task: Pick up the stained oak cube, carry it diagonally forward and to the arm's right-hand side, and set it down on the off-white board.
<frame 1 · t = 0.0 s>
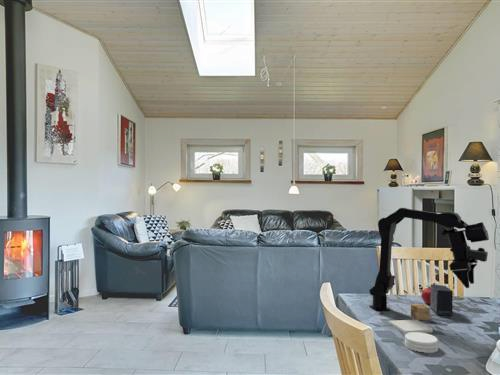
hand: (470, 285, 141), 15 cm above the table, tool pointing down, fingers open, 9 cm apart
white board: (410, 327, 139), on the table
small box: (441, 312, 159), on the table
oak cube: (420, 318, 151), on the table
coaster: (421, 348, 121), on the table
pomegranate: (433, 304, 172), on the table
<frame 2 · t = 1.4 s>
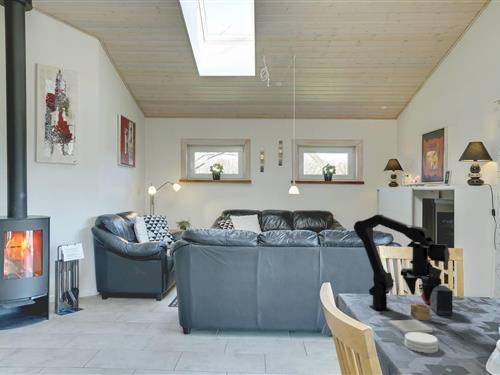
hand: (419, 297, 151), 8 cm above the table, tool pointing down, fingers open, 9 cm apart
nothing on the table moved.
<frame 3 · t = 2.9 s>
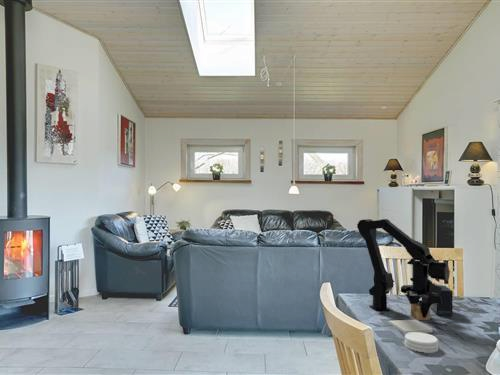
hand: (420, 315, 151), 1 cm above the table, tool pointing down, fingers closed on oak cube, 5 cm apart
oak cube: (420, 317, 151), on the table, touching gripper
everything else where it was.
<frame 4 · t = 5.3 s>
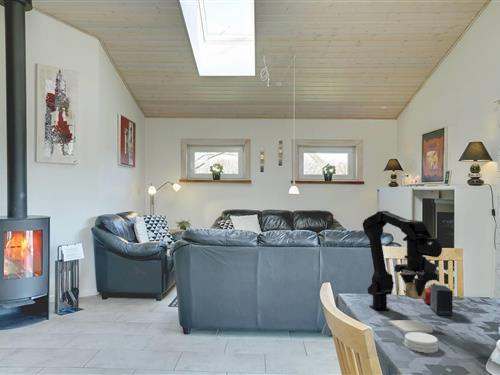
hand: (415, 294, 144), 11 cm above the table, tool pointing down, fingers closed on oak cube, 5 cm apart
oak cube: (415, 297, 144), point 10 cm above the table, touching gripper
everything else where it was.
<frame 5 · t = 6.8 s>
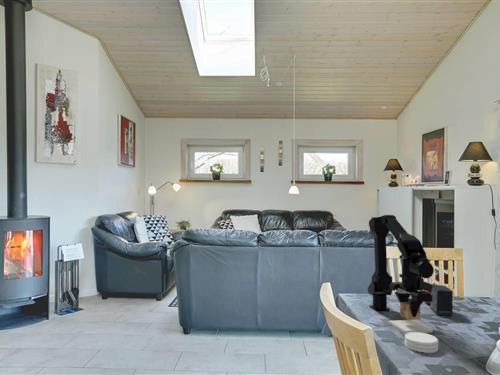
hand: (409, 314, 140), 5 cm above the table, tool pointing down, fingers closed on oak cube, 5 cm apart
oak cube: (410, 317, 140), point 4 cm above the table, touching gripper
everything else where it was.
when the fingers open (3 cm above the table, at t = 7.9 s): oak cube drops 1 cm, resting on white board.
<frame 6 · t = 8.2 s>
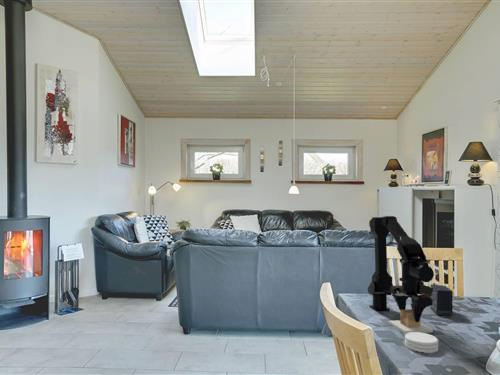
hand: (409, 318, 140), 3 cm above the table, tool pointing down, fingers open, 8 cm apart
oak cube: (410, 325, 140), point 1 cm above the table, touching white board
everything else where it was.
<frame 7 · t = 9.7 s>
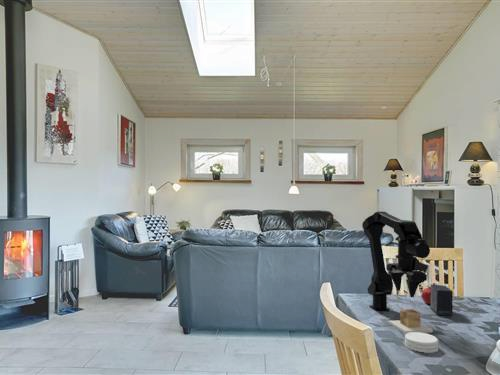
hand: (405, 293, 145), 11 cm above the table, tool pointing down, fingers open, 9 cm apart
nothing on the table moved.
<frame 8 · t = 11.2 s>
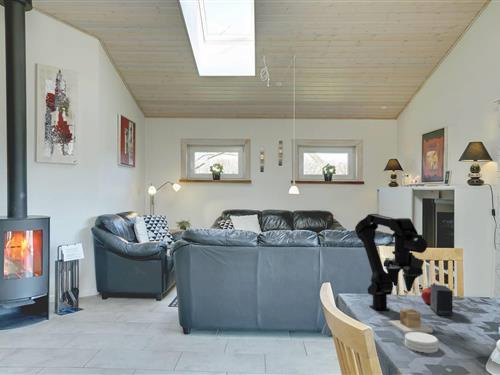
hand: (402, 288, 150), 12 cm above the table, tool pointing down, fingers open, 9 cm apart
nothing on the table moved.
at the end: oak cube inside the target area on the white board (0.1 cm from its centre), point 1.0 cm above the white board's base; oak cube tilted 0°; the gripper is holding nothing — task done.
